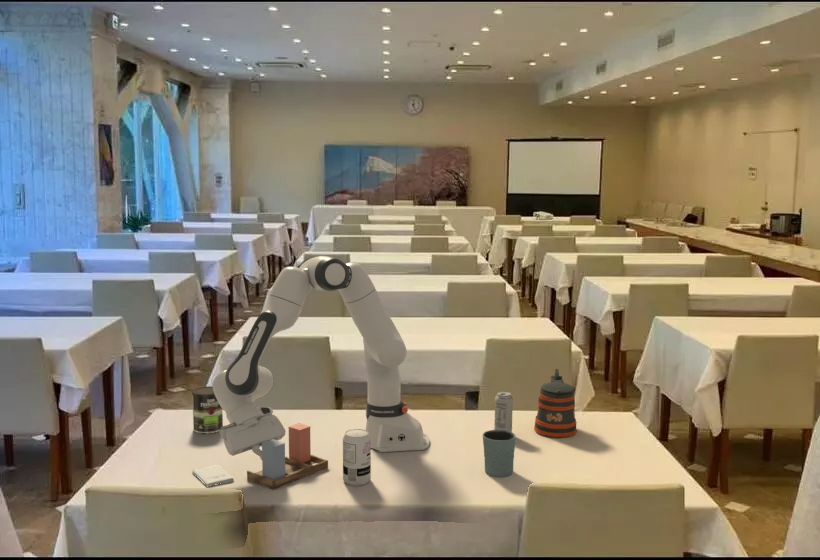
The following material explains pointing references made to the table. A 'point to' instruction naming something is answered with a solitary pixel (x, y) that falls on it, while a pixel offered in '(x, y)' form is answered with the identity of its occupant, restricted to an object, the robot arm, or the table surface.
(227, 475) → the external hard drive
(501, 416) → the energy drink can
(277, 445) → the blue-grey rectangular block
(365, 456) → the supplement can
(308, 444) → the brick key
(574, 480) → the table surface
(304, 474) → the wooden compartment tray
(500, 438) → the teal cup
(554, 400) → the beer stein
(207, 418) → the coffee can
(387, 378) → the robot arm
